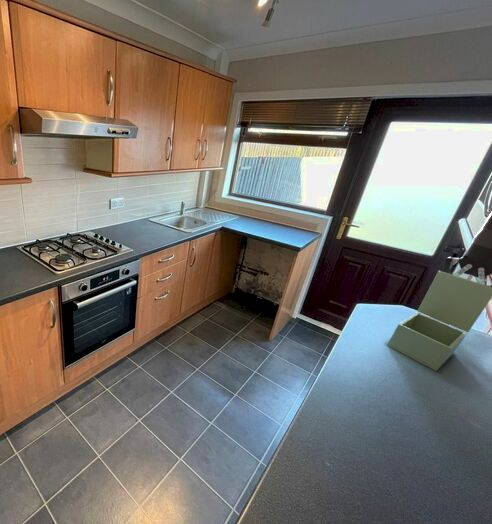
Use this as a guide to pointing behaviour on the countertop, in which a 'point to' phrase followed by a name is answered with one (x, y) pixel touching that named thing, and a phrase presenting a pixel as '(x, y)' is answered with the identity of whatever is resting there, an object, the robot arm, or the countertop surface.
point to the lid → (455, 300)
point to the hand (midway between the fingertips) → (459, 293)
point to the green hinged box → (426, 340)
